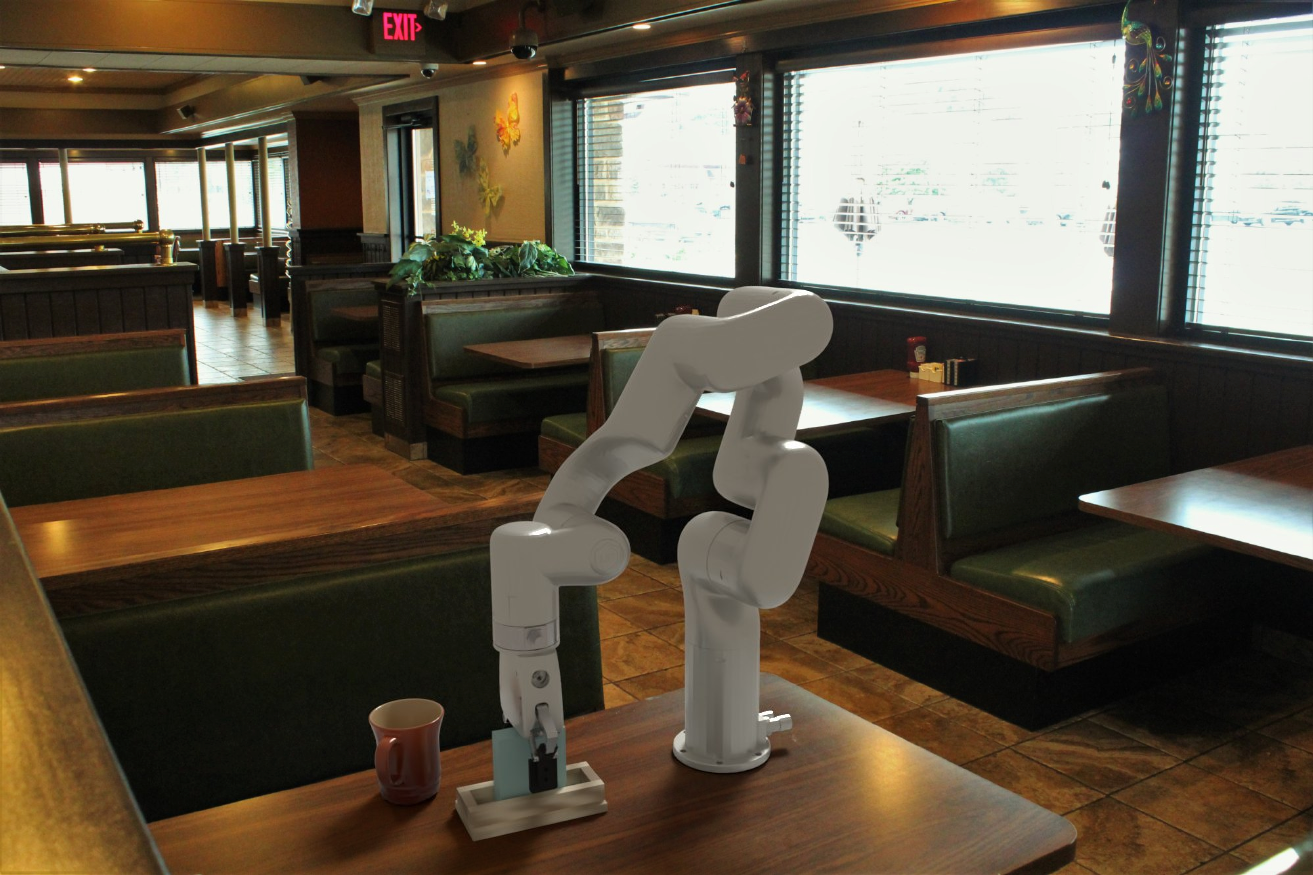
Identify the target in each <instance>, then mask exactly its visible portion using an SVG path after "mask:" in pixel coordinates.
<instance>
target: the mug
mask: <svg viewBox="0 0 1313 875" xmlns="http://www.w3.org/2000/svg"><path fill="white" fill-rule="evenodd" d="M444 715H445V709H444V707H443V706H442V705H441V704H440V703H438V702H436V701H434V700H431V699H427V698H425V699H424V698H405V699H404V698H403V699H397V700H393V701H389V702H386V703H383V704H381V705H379V706H377V707H376V708H374V709H373V710H371V712H370V713H369V715H368V722H369V725H370V726H371V730H372V731H373V736H374V738H375V740H376V741H375V742H376V749H375V753H374V766H375V767H374V768H375V772H376V778H377V783H378V785H379V790H380V795H381V796H382V797H383V799H385V800H386V801H387V802H389V803H391V804H395V805H402V806H409V805H416V804H417V805H418V804H420V803H422V802H423V803H424V802H425V801H427V800H429V799H430V798H432V797H433V796H434V795H436V793H438V791H439V790H440V786H441V785H440V784H441V780H442V778H441V776H442V767H441V766H442V765H441V762H442V761H441V752H440V730H441V726H442V722H443V718H444Z"/></svg>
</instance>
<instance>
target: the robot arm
mask: <svg viewBox="0 0 1313 875" xmlns="http://www.w3.org/2000/svg"><path fill="white" fill-rule="evenodd" d="M833 330H834V319H833V314H832V311H831V309H830V306H829V304H827V302H826V301H825V300H824V299H823V298H821V297H820V296H819V295H818V294H816V293H815V292H812V291H808V290H805V289H798V288H797V289H795V288H783V287H782V288H781V287H772V286H771V287H770V286H761V285H759V286H758V285H757V286H756V285H755V286H754V285H753V286H752V285H750V286H749V285H748V286H747V285H746V286H741V287H736V288H734V289H732V290H730V291H728V292H727V293H726V294H725V295H724V296H723V297H722V298H721V300H720V302H719V304H718V307H717V312H716V316H708V315H700V314H699V315H698V314H697V315H696V314H676V315H672V316H669V317H667V318H666V319H664V320H663V321H661V322H660V323H659V324H658V326H657V327H656V328H655V330H654V331H653V333H652V335H651V337H650V338H649V340H648V342H647V344H646V346H645V348H644V350H643V352H642V354H641V356H640V358H639V359H638V362H637V363H636V365H635V368H634V369H633V371H632V373H631V375H630V377H629V379H628V381H627V383H626V384H625V386H624V389H623V390H622V393H621V395H619V398H618V400H617V401H616V403H615V406H614V408H613V409H612V411H611V413H610V415H609V417H608V418H607V420H606V421H605V423H603V425H602V426H601V427H599V428H598V429H597V430H596V431H594V432H593V433H592V434H591V435H590V436H589V437H588V438H587V439H586V440H585V441H584V442H582V443H581V444H580V445H579V446H578V448H577V449H575V450H574V451H573V452H572V453H571V454H570V455H569V456H568V457H567V458H565V459H566V460H564V462H563V463H562V464H561V465H560V467H559V468H558V470H557V471H556V472H555V474H554V476H553V478H552V479H551V481H550V483H549V484H548V487H547V489H546V491H545V492H544V494H543V496H542V498H541V500H540V502H539V503H538V506H537V508H536V510H535V513H534V516H533V517H532V521H529V520H527V521H526V520H524V521H522V520H521V521H513V522H508V523H505V524H502V525H500V526H498V527H496V528H494V530H493V531H492V533H491V535H490V540H489V555H490V557H489V558H490V560H489V561H490V581H491V583H490V584H491V608H492V609H491V612H492V613H491V614H492V615H491V616H492V621H491V622H492V640H493V641H492V646H493V648H494V649H495V650H496V651H497V652H499V666H498V667H499V669H498V670H499V672H498V673H499V697H500V706H501V710H502V712H503V714H502V720H503V722H504V724H503V728H502V729H507V728H512V727H514V728H515V729H516V731H517V732H518V733H519V734H520V735H521V736H522V737H523V738H525V739H527V740H528V745H529V749H530V754H531V758H532V759H528V768H529V790H530V792H531V793H532V794H535V793H540V792H544V791H549V790H554V789H556V788H557V787H558V775H557V757H558V752H557V749H558V746H557V740H558V733H561V732H562V731H563V729H564V727H565V725H564V710H563V709H564V708H563V707H564V706H563V694H562V692H563V690H562V682H561V680H562V679H561V672H560V665H559V659H558V652H557V649H556V648H557V647H559V645H560V642H561V641H560V640H561V638H560V637H561V635H560V634H561V633H560V595H559V592H560V591H559V590H560V589H559V588H560V587H566V586H567V587H569V586H598V585H602V584H606V583H608V582H611V581H613V580H615V579H616V578H618V577H619V576H620V575H621V574H622V573H623V572H624V571H625V569H626V568H627V567H628V564H629V561H630V558H631V546H630V541H629V539H628V537H627V535H626V534H625V533H624V531H623V530H621V529H620V528H619V526H617V525H616V524H614V523H612V522H610V521H609V520H607V519H604V518H602V517H599V516H597V515H595V514H596V512H597V510H598V508H599V507H600V505H601V503H602V501H603V500H604V498H605V497H606V496H607V494H608V493H609V492H610V491H611V489H612V488H613V487H614V486H615V485H616V484H617V483H618V482H620V481H621V480H622V479H624V477H626V476H628V475H629V474H631V473H633V472H635V471H638V470H641V469H643V468H645V467H648V466H652V465H654V464H656V463H659V462H660V461H662V460H663V461H664V460H665V459H666V458H668V457H669V456H671V455H672V453H673V452H674V451H675V449H676V448H677V447H676V446H677V445H678V442H679V440H680V438H681V436H682V435H683V433H684V431H685V428H686V426H687V425H688V423H689V421H690V420H691V417H692V415H693V413H694V411H695V409H696V408H697V405H698V403H699V401H700V399H701V397H702V396H703V394H704V392H705V391H707V392H712V393H719V394H729V393H734V392H735V395H734V400H733V405H732V408H731V412H730V415H729V418H728V421H727V425H726V427H725V430H724V434H723V436H722V439H721V443H720V446H719V450H718V453H717V455H716V459H715V462H714V466H713V471H712V481H713V485H714V488H715V489H716V491H717V493H718V494H720V496H722V498H724V499H726V500H727V501H730V502H732V503H734V504H736V505H739V506H741V507H744V508H747V509H750V510H753V514H752V518H751V519H747V518H745V517H743V516H738V515H737V514H733V513H730V512H726V511H718V510H717V511H715V510H714V511H713V510H712V511H707V512H702V513H700V514H698V515H696V516H694V517H693V518H692V519H690V521H688V522H687V523H686V525H685V526H684V528H683V530H682V531H681V533H680V536H679V540H678V543H677V565H678V570H679V577H680V581H681V587H682V588H681V589H682V592H683V604H684V605H683V606H684V729H683V730H681V731H680V732H679V733H678V734H677V735H675V737H674V739H673V743H672V750H673V751H672V752H673V754H674V757H676V759H677V760H679V761H680V762H681V763H682V764H683V765H686V766H688V767H690V768H693V769H696V770H698V771H703V772H707V773H708V772H709V773H718V774H730V773H739V772H745V771H747V770H751V769H754V768H756V767H759V766H761V765H763V764H764V763H765V762H766V761H767V760H768V759H769V757H770V755H771V746H772V745H771V742H770V740H769V738H768V737H769V736H771V735H772V734H773V733H774V732H782V731H787V730H790V729H792V728H793V719H792V717H791V715H790V714H787V713H786V714H782V715H777V716H775V714H774V713H773V712H774V711H772V710H766V711H762V712H760V658H761V657H760V655H761V654H760V653H761V652H760V648H761V646H760V643H761V642H760V641H761V618H760V612H759V610H760V609H762V610H770V609H775V608H777V607H779V606H781V605H783V604H785V603H786V602H787V601H788V600H789V599H790V598H791V597H792V596H793V594H794V593H795V592H796V590H797V588H798V586H799V585H800V582H801V580H802V578H803V575H804V573H805V570H806V568H807V564H808V561H809V558H810V554H811V551H812V548H813V546H814V542H815V538H816V536H817V533H818V530H819V527H820V523H821V520H822V518H823V513H824V510H825V507H826V503H827V499H828V495H829V485H830V484H829V473H828V469H827V465H826V462H825V461H824V459H823V457H822V456H821V454H820V453H819V452H818V451H817V450H816V449H815V448H813V447H812V446H810V445H809V444H807V443H804V442H801V441H798V440H795V438H796V434H797V429H798V425H799V422H800V419H801V418H800V417H801V414H802V409H803V405H804V396H805V393H804V382H803V376H802V372H801V369H800V367H801V366H803V365H805V364H808V363H810V362H812V361H813V360H814V359H815V358H817V357H818V356H820V354H821V353H822V352H824V350H825V348H826V347H827V346H828V344H829V343H830V340H831V338H832V335H833ZM539 727H540V728H541V731H536V732H532V729H534V728H539ZM540 738H543V743H541V744H540V745H539V747H538V749H537V747H536V742H535V739H540Z"/></svg>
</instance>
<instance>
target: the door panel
mask: <svg viewBox="0 0 1313 875" xmlns="http://www.w3.org/2000/svg"><path fill="white" fill-rule="evenodd" d="M536 731H541V728H540V727H539V728H534V729H532V732H536ZM566 739H567V738H566V726H564V729H563V731H562V732H561V733H558V740H557V746H558V749H557V752H558V757H557V775H558V787H557V788H556V789H558V788H563V787H567V781H566V765H567V746H566V744H567V743H566V741H567V740H566ZM491 741H492V742H491V745H492V747H491V748H492V765H493V766H492V769H493V770H492V772H493V780H494V802H497V801H502V800H506V799H511V798H516V797H520V796H525V795H530V794H532V793H531V792H530V790H529V768H528V759H532V758H531V754H530V749H529V745H528V740H527V739H525V738H523V737H522V736H521V735H520V734H519V733H518V732H517V731H516V729H515V728H514V727H512V728H507V729H503V728H502V729H498V730H497V729H496V730H492V731H491ZM535 742H536V747H537V749H538V747H539V745H540V744H541V743H543V738H540V739H535Z"/></svg>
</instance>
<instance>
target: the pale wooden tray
mask: <svg viewBox="0 0 1313 875" xmlns="http://www.w3.org/2000/svg"><path fill="white" fill-rule="evenodd" d="M566 781H567V787H563V788H558V789H554V790H549V791H544V792H540V793H535V794H530V795H525V796H520V797H516V798H511V799H506V800H502V801H497V802H494V779H493V780H489V781H484V782H479V783H474V784H469V785H465V786H459V787H456V800H454V801H455V802H454V803H455V804H454V805H455V809H456V811H457V814H458V815H459V818H460V819H461V821H462V823H463V825H464V827H465V828H466V830H467V832H468V834H469V836H470V838H471V840H472V841H473V842H477V841H481V840H485V839H490V838H494V837H499V836H503V835H508V834H514V833H517V832H521V831H525V830H531V829H534V828H539V827H543V826H548V825H552V824H557V823H562V822H565V821H569V820H574V819H579V818H583V817H587V816H592V815H597V814H601V813H606V812H608V810H609V809H608V807H609V806H608V805H609V804H608V802H607V801H606V798H605V796H606V795H605V794H606V793H605V783H604V781H603V780H602V779H601V778H600V777H599V775H598V774H597V773H596V772H595V771H594V769H593V768H592V767H591V766H590V764H589V763H588V762H587V761H581V762H577V763H571V764H566Z"/></svg>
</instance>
